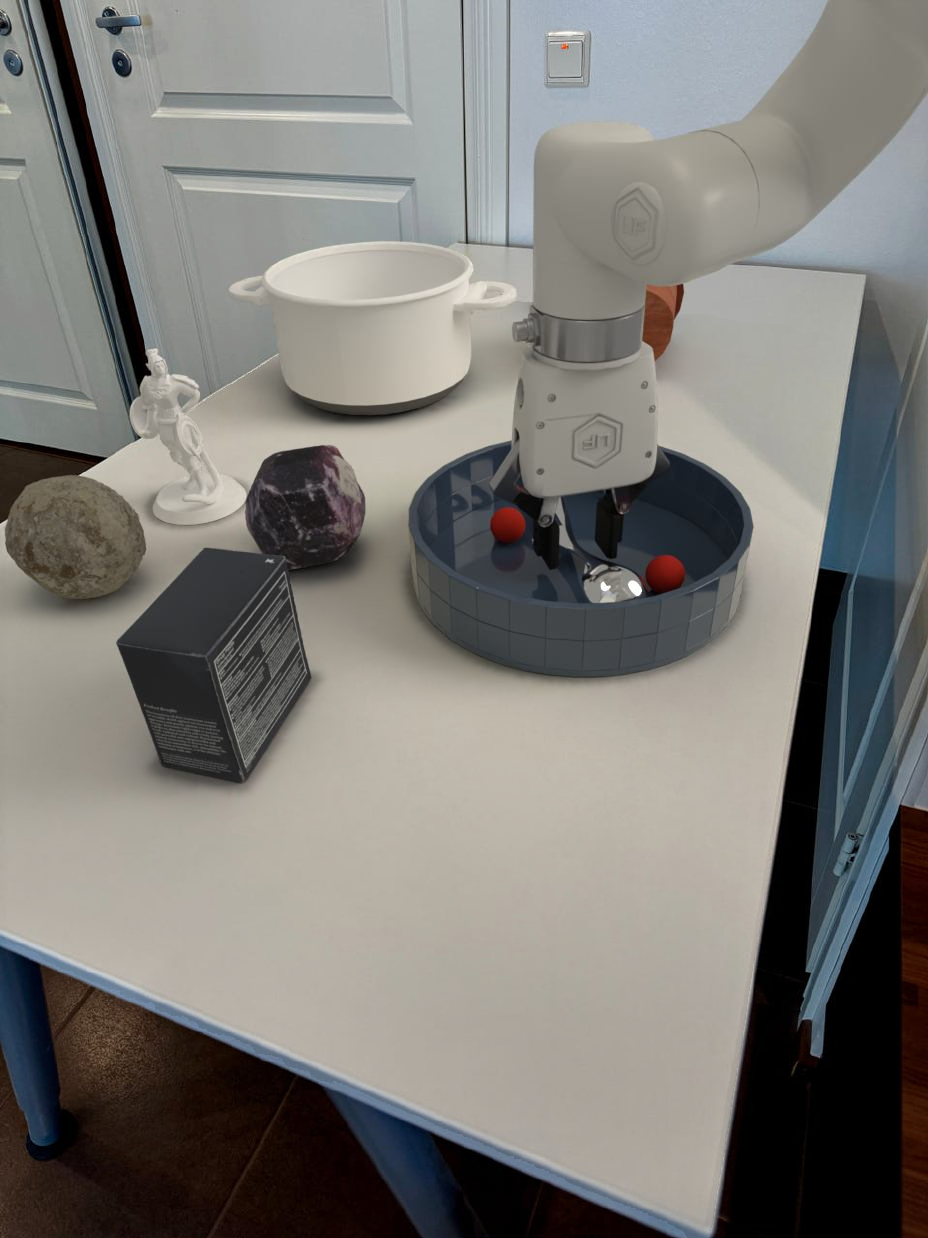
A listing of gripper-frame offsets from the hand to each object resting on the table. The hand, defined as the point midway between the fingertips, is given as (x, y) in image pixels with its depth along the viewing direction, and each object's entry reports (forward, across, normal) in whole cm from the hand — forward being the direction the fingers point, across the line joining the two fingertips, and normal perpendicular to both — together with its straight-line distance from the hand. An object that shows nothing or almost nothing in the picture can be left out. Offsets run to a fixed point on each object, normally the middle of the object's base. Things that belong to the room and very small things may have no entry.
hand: (576, 553), depth 71 cm
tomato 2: (0, +5, -5) cm, 7 cm away
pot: (+2, -9, +44) cm, 45 cm away
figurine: (+2, -30, +22) cm, 37 cm away
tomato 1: (0, -4, +6) cm, 7 cm away
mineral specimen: (+2, -20, +9) cm, 23 cm away
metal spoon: (+1, 0, 0) cm, 1 cm away
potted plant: (+2, +24, +51) cm, 57 cm away
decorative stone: (+2, -38, +10) cm, 40 cm away
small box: (+2, -28, -10) cm, 30 cm away
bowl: (+2, 0, 0) cm, 2 cm away
